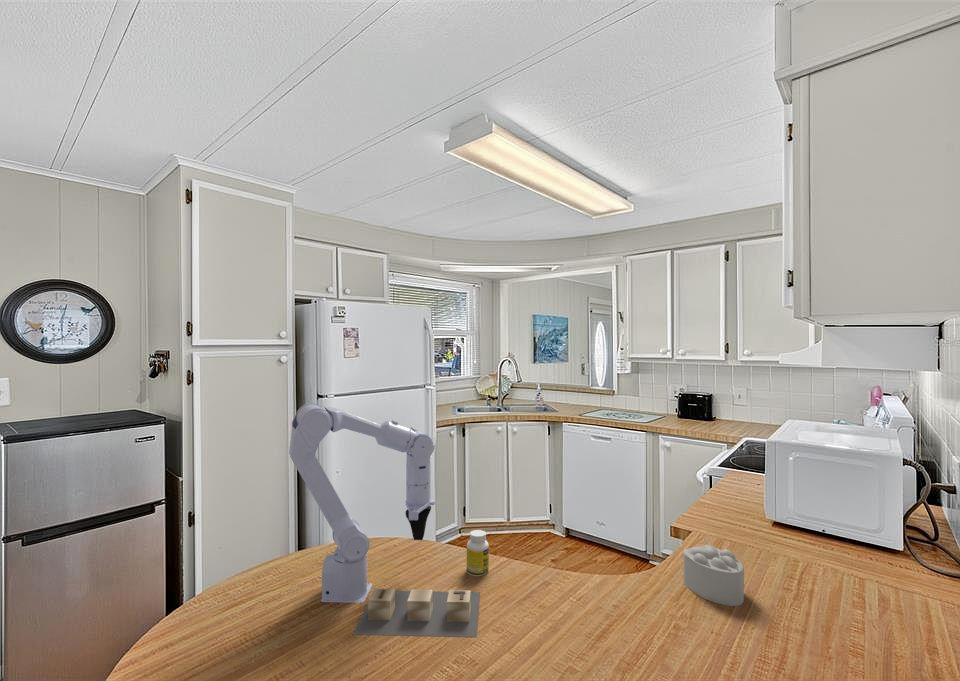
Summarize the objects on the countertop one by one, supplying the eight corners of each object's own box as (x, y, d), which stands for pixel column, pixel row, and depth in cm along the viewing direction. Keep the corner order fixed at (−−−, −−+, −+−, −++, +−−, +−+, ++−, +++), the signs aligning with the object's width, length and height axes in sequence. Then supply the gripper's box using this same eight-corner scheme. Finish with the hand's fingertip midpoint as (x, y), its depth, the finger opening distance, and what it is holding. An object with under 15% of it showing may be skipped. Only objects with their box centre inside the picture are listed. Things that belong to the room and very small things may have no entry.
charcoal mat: (352, 637, 93) (352, 634, 93) (374, 592, 109) (374, 590, 109) (477, 640, 92) (477, 637, 92) (480, 594, 108) (480, 592, 108)
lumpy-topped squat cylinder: (713, 573, 117) (713, 538, 117) (757, 602, 105) (757, 562, 105) (676, 579, 115) (677, 543, 115) (717, 609, 102) (718, 569, 102)
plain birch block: (407, 620, 97) (407, 601, 97) (411, 608, 102) (411, 589, 102) (429, 621, 97) (429, 601, 97) (432, 608, 102) (432, 589, 102)
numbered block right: (447, 621, 97) (446, 601, 97) (449, 608, 102) (449, 589, 101) (469, 622, 97) (469, 601, 97) (470, 609, 101) (470, 589, 101)
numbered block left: (368, 619, 98) (368, 599, 98) (374, 607, 102) (373, 587, 102) (390, 620, 97) (390, 599, 97) (395, 607, 102) (395, 588, 102)
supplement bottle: (486, 579, 115) (486, 538, 115) (464, 577, 116) (464, 536, 116) (490, 568, 120) (490, 529, 120) (469, 566, 121) (469, 527, 121)
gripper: (430, 492, 108) (431, 552, 108) (438, 473, 122) (439, 527, 123) (399, 492, 108) (399, 552, 108) (411, 473, 123) (411, 526, 123)
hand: (418, 538), depth 115 cm, fingers closed
